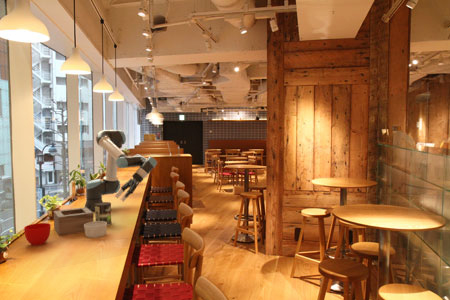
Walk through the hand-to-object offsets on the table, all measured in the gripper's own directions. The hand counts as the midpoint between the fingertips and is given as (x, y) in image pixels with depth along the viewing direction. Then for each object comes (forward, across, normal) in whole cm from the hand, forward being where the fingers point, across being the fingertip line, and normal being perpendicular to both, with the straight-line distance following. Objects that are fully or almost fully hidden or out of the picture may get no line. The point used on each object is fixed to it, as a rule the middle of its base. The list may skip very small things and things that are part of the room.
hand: (118, 198), depth 242 cm
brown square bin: (+32, -2, +9) cm, 34 cm away
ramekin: (+26, -23, +3) cm, 35 cm away
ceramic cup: (+47, -20, +24) cm, 57 cm away
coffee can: (+19, 0, -4) cm, 19 cm away
